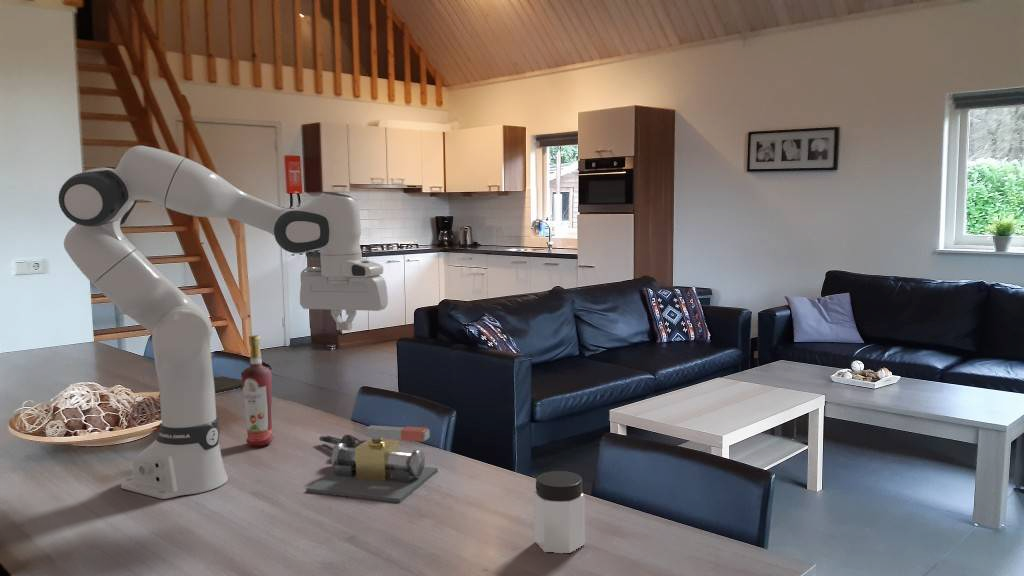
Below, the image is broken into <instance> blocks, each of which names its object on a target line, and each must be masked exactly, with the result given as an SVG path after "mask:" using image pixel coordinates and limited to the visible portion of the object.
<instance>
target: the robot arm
mask: <svg viewBox="0 0 1024 576" xmlns="http://www.w3.org/2000/svg"><path fill="white" fill-rule="evenodd" d="M119 160H120V161H119V162H118V164H117V166H116V167H113V166H103V167H94V168H89V169H86V170H84V171H82V172H80V173H77V174H74V175H72V176H70V177H69V178H68V179H67V180H66V181H65V182H63V184H62V186H61V187H60V189H59V193H58V204H59V207H60V210H61V211H62V213H63V214H64V216H65V217H66V218H67V219H68V220H70V221H71V222H73V223H75V225H73V226H72V227H71V228H70V229H69V230H68V232H66V235H65V237H64V240H63V247H64V250H65V252H66V253H67V254H68V257H69V258H70V259H71V260H72V262H73V263H74V264H75V265H76V267H77V268H78V269H79V271H80V272H81V273H82V274H83V275H84V276H85V277H86V279H87V280H89V282H90V283H91V284H93V285H94V287H96V288H97V289H98V290H99V292H101V293H102V294H103V295H104V296H105V297H106V298H107V299H108V300H109V301H110V302H111V303H112V304H113V305H114V306H115V307H116V308H118V310H119V311H121V312H122V313H123V314H125V315H126V316H128V317H130V318H131V319H132V320H134V321H135V322H136V323H138V324H139V325H140V326H141V327H142V328H144V329H145V330H147V331H148V332H149V333H150V334H152V336H151V339H152V341H151V342H152V349H153V351H152V352H153V357H154V358H153V359H154V366H155V372H156V376H157V383H158V384H157V385H158V388H159V389H158V391H159V401H160V402H159V403H160V414H161V416H160V417H161V423H159V424H158V425H155V426H152V427H151V429H153V430H152V431H151V433H156V432H157V433H156V437H155V440H154V441H153V442H151V443H150V445H148V446H147V447H146V448H145V449H144V450H142V451H141V452H140V453H138V455H136V456H135V458H134V460H133V463H132V475H130V476H128V477H127V478H125V479H124V480H122V482H121V484H120V488H121V489H124V490H127V491H130V492H134V493H138V494H142V495H146V496H149V497H154V498H158V499H160V500H161V499H162V500H165V499H166V500H167V499H171V498H176V497H179V496H185V495H186V496H187V495H194V494H200V493H204V492H208V491H211V490H214V489H216V488H217V489H218V488H220V487H221V486H222V485H224V484H225V483H227V482H228V481H229V475H228V473H227V472H226V471H227V470H226V467H225V465H224V461H223V456H222V452H221V446H220V441H219V439H220V421H219V417H218V416H217V407H216V406H217V405H216V395H215V387H214V378H215V377H214V372H213V371H214V370H213V363H212V362H213V361H212V352H211V351H212V349H211V338H212V333H213V323H212V321H211V318H210V316H209V315H208V314H207V313H206V312H205V311H204V310H203V309H202V308H201V307H200V306H199V305H198V304H197V303H196V302H194V300H192V299H191V298H190V297H189V296H188V295H187V294H186V293H184V291H182V290H181V289H180V288H179V287H177V286H176V285H175V284H174V283H173V282H172V281H170V280H169V279H168V277H166V276H165V275H164V274H163V273H162V272H161V271H160V270H158V268H156V266H154V264H152V262H151V261H150V260H148V258H147V257H146V256H145V255H144V254H143V253H142V252H141V251H140V250H139V249H137V248H136V246H135V245H134V244H133V243H132V242H131V241H130V240H129V239H128V238H127V237H126V235H124V233H123V232H122V229H121V226H122V225H124V224H125V223H126V221H127V220H128V218H129V216H130V214H131V213H132V211H133V210H134V207H135V206H136V204H137V201H138V200H140V201H141V200H142V201H147V202H151V203H154V204H156V205H159V206H161V207H164V208H166V209H169V210H172V211H174V212H178V213H181V214H184V215H189V216H194V217H199V218H201V217H202V218H221V219H222V218H224V219H229V220H235V221H238V222H240V223H243V224H246V225H248V226H251V227H252V228H257V229H258V230H262V231H265V232H266V233H267V232H268V233H270V234H271V235H273V236H274V239H275V241H276V243H277V244H278V246H279V247H280V248H281V249H283V250H284V251H286V252H288V253H291V254H295V255H297V254H298V255H299V254H300V255H301V254H306V253H308V252H311V251H315V250H319V252H320V255H319V256H320V257H319V258H320V266H316V267H313V266H307V267H305V268H304V269H303V270H302V271H301V272H300V274H299V275H300V290H299V304H300V306H301V308H302V309H303V310H329V311H330V315H331V316H332V318H333V321H335V323H336V326H335V327H336V330H337V331H352V329H353V321H354V320H355V317H356V315H357V311H373V312H374V311H375V312H376V311H377V312H378V311H379V312H380V311H382V310H385V309H386V307H387V306H388V303H389V298H388V297H389V296H388V289H387V288H388V287H387V284H386V283H387V282H386V280H385V278H384V277H383V273H384V266H383V265H382V264H380V263H377V262H374V261H372V260H369V259H366V258H364V257H363V255H362V254H363V253H362V248H361V245H360V239H361V235H362V228H361V225H362V224H361V215H360V209H359V205H358V202H357V201H356V199H354V198H353V197H352V196H350V195H348V194H343V193H338V192H329V191H324V192H321V194H319V195H318V196H317V197H316V198H314V199H312V200H310V201H308V202H307V203H304V204H302V205H300V206H297V207H282V206H279V205H276V204H273V203H271V202H268V201H266V200H263V199H261V198H258V197H256V196H254V195H251V194H248V193H246V192H244V191H242V190H241V189H239V188H237V187H236V186H234V185H232V184H231V183H230V182H228V181H227V180H225V179H224V178H223V177H222V176H220V175H219V174H218V173H216V172H214V171H213V170H211V169H209V168H207V167H206V166H204V165H202V164H200V163H199V162H195V160H192V159H189V158H187V157H184V156H183V155H182V156H181V155H179V154H177V153H174V152H170V151H167V150H163V149H161V148H156V147H152V146H145V145H134V146H132V147H131V148H129V149H128V150H126V152H125V153H123V156H121V159H119ZM343 311H345V315H346V319H345V321H344V320H343V318H342V316H341V314H342V312H343Z"/></svg>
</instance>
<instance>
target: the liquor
mask: <svg viewBox="0 0 1024 576" xmlns="http://www.w3.org/2000/svg"><path fill="white" fill-rule="evenodd" d="M248 340H249V342H248V344H249V348H250V355H249V356H250V358H249V366H247V368H245V369H244V370H243V371H242V372H241V375H240V376H241V380H242V386H243V389H242V395H243V402H244V409H245V420H246V421H245V422H246V433H247V438H246V440H245V441H246V443H247V444H248V445H249V446H251V447H253V448H262V447H265V446H266V447H267V446H269V445H270V444H271V443H272V442H273V441H274V439H275V436H274V435H273V420H272V419H273V415H272V414H273V413H272V412H273V410H272V406H273V405H272V401H273V396H272V395H273V385H272V384H273V383H272V382H273V381H272V377H273V376H272V375H273V374H272V373H273V372H272V369H270V368H269V367H268V366H264V365H263V362H262V361H263V360H262V354H261V335H258V334H256V335H250V336H248Z"/></svg>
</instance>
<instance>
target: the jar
mask: <svg viewBox="0 0 1024 576" xmlns="http://www.w3.org/2000/svg"><path fill="white" fill-rule="evenodd" d="M585 497H586V495H585V493H583V478H582V477H581V476H580V475H579V474H578V473H575V472H571V471H566V470H551V471H547V472H543V473H541V474H539V475H538V476H536V479H535V491H534V492H533V502H534V503H533V504H534V505H533V506H534V511H533V512H534V513H533V514H534V542H535V544H537V545H539V546H538V547H539V548H540V549H541V550H542V552H544V553H547V552H554V553H553V554H563V553H571V552H572V553H574V552H576V551H577V550H578V548H579V549H580V548H582V547H583V545H584V546H585V545H586V504H585V499H586V498H585ZM581 546H582V547H581ZM576 549H577V550H576ZM573 551H574V552H573ZM572 553H571V554H572Z"/></svg>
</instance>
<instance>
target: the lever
mask: <svg viewBox="0 0 1024 576" xmlns="http://www.w3.org/2000/svg"><path fill="white" fill-rule="evenodd" d="M430 434H431V433H430V429H429V428H428V427H421V426H420V427H419V426H405V427H402V426H388V425H387V426H386V425H373V424H371V425H368V427H366V428H365V437H370V438H372V442H380V441H382V439H394V440H395V439H397V440H398V439H399V440H401V441H405V442H406V441H408V442H421V443H423V442H425V441H427V440H428V439H429V438H430Z"/></svg>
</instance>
